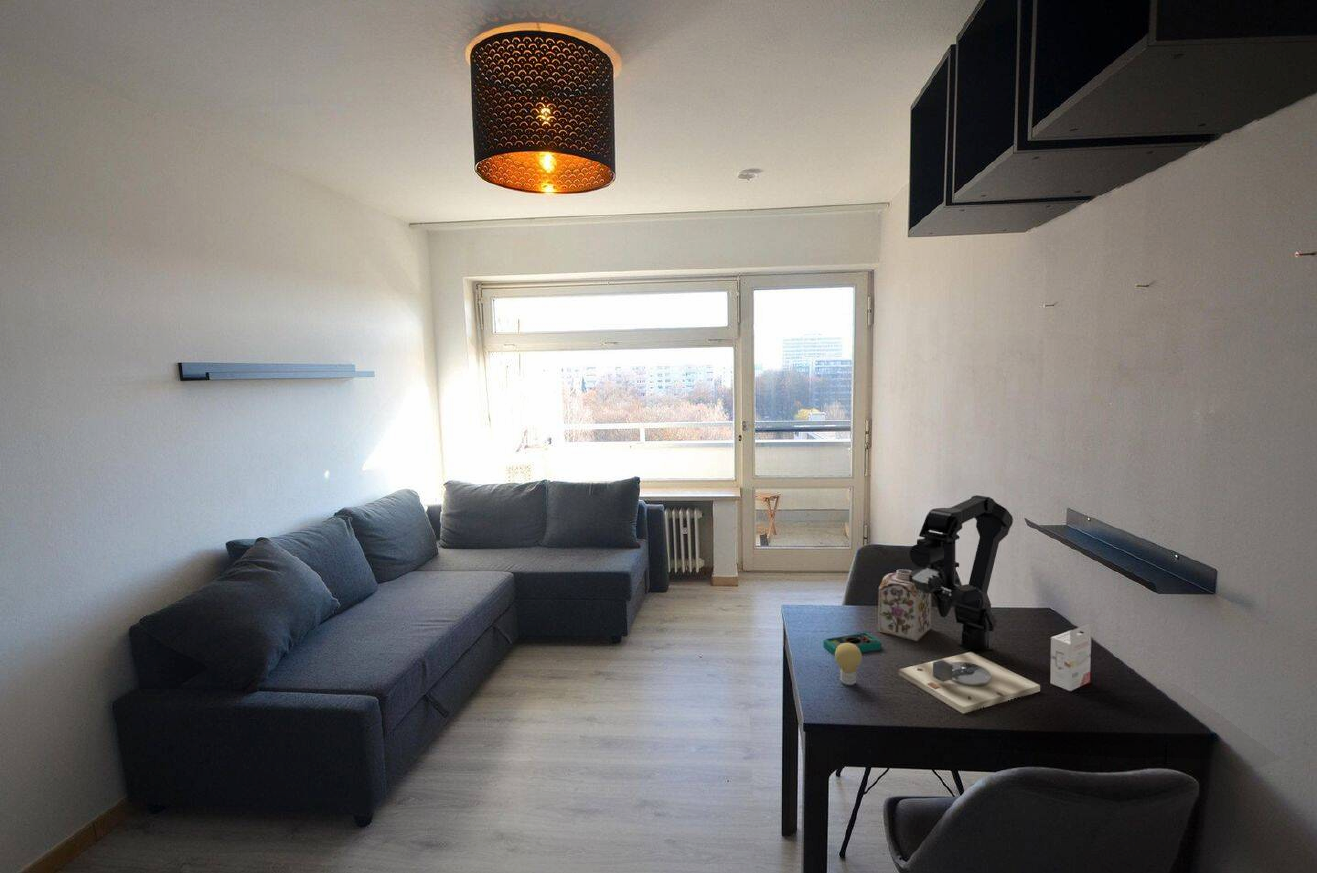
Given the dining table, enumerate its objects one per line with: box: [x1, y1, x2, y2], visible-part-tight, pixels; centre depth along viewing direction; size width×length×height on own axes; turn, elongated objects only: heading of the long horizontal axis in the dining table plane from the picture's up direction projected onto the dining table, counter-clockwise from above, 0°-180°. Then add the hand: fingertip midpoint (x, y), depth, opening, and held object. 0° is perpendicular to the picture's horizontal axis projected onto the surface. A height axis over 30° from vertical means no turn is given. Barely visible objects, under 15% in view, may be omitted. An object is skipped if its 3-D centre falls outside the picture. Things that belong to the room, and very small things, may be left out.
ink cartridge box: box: [1050, 624, 1092, 692], centre depth 152 cm, size 9×5×15 cm, turn 118°
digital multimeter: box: [822, 632, 882, 656], centre depth 176 cm, size 7×15×3 cm, turn 106°
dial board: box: [898, 651, 1041, 715], centre depth 155 cm, size 24×20×2 cm
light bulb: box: [834, 643, 863, 686], centre depth 156 cm, size 6×6×10 cm
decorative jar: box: [877, 568, 932, 642], centre depth 186 cm, size 12×12×18 cm
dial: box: [933, 660, 991, 686], centre depth 153 cm, size 14×10×5 cm
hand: (943, 616), depth 164 cm, fingers closed
